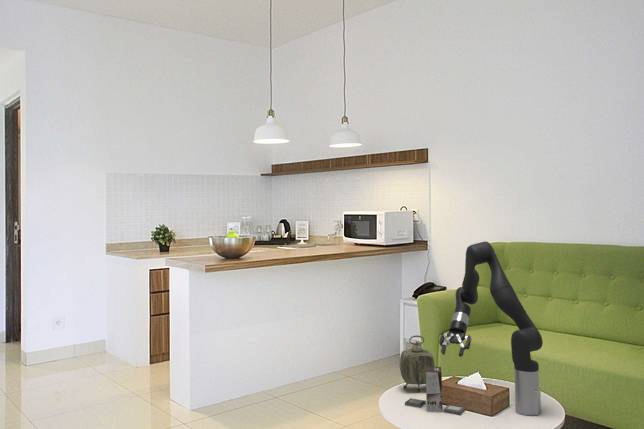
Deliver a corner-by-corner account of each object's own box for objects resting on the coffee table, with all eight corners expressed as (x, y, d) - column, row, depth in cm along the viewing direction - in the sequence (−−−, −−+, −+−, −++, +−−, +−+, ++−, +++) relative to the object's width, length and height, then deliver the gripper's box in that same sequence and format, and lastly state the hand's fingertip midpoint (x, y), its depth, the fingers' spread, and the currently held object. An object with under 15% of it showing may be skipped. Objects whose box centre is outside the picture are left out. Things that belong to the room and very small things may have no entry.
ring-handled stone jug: (431, 386, 258) (429, 333, 258) (436, 392, 249) (435, 337, 249) (400, 387, 257) (399, 334, 257) (404, 394, 248) (403, 338, 248)
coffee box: (442, 412, 225) (441, 372, 225) (426, 411, 226) (425, 372, 226) (442, 404, 234) (441, 366, 234) (426, 403, 235) (425, 365, 235)
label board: (465, 410, 226) (465, 407, 226) (460, 415, 221) (460, 411, 221) (410, 401, 239) (410, 397, 239) (404, 405, 234) (404, 401, 234)
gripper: (442, 318, 259) (433, 348, 250) (472, 320, 252) (465, 352, 242) (446, 327, 264) (438, 357, 254) (476, 330, 256) (469, 361, 246)
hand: (451, 354), depth 248 cm, fingers open, 7 cm apart
